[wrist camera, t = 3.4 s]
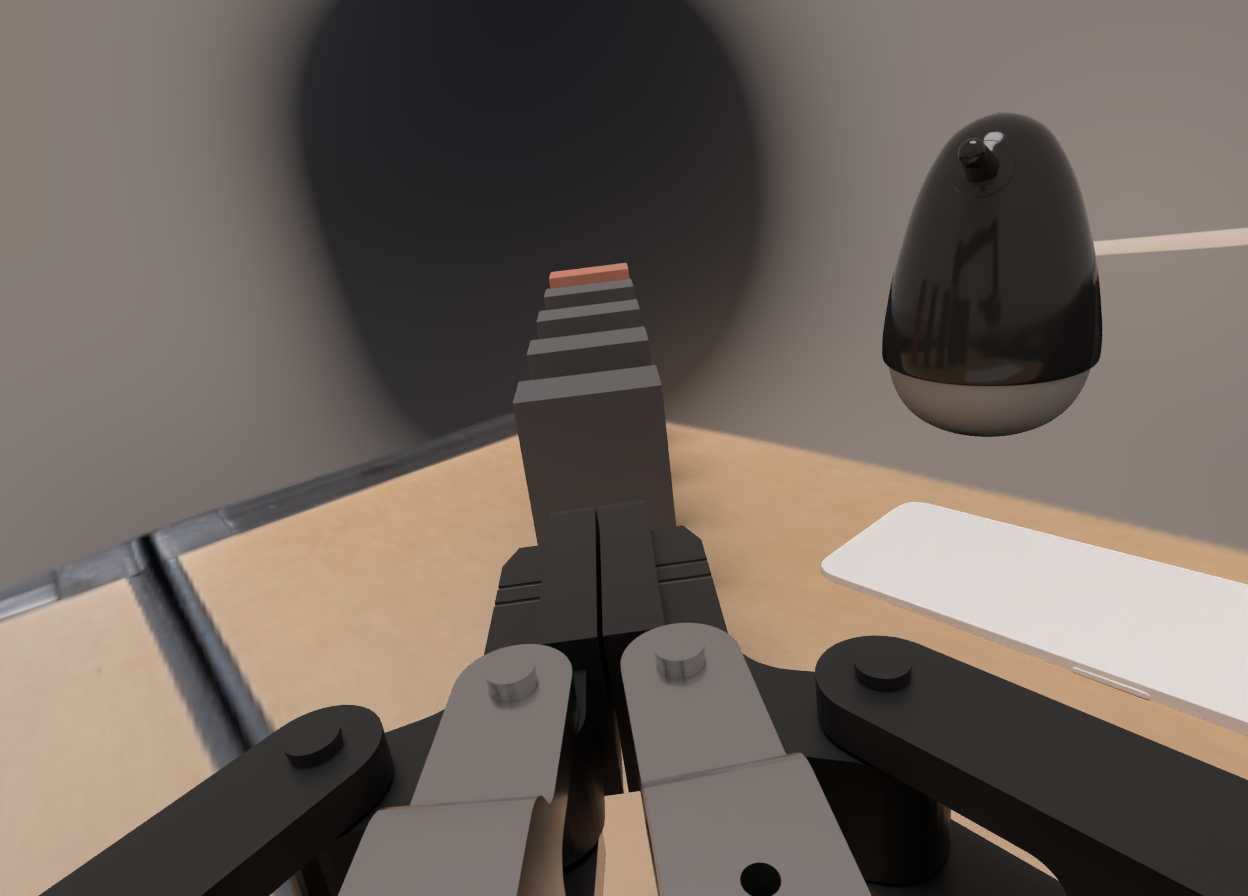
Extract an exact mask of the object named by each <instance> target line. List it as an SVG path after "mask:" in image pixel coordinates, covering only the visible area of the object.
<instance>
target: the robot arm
mask: <svg viewBox="0 0 1248 896" xmlns="http://www.w3.org/2000/svg"><path fill="white" fill-rule="evenodd" d="M498 587H499V590H498V591H497V596H496V600H495V607H494V610H493V615H492V619H491V624H490V629H489V634H488V639H487V643H486V648H485V653H484V656H482V657H481V658H479V659H477V660H475V661H474V662H473V663H471V664H470V665H469V666H468V667H467V668H466V669H465V670H464V671H463V672H462V673H461V674H460V675H459V677H458V678H457V680H456V682H455V684H454V686H453V689H452V691H451V694H450V697H449V700H448V702H447V705H446V708H445V709H444V710H442V711H440V712H438V713H436V714H434V715H432V716H430V717H427V718H425V719H422V720H420V721H417V722H414V723H411V724H409V725H406V726H403V727H400V728H397V729H395V730H392V731H389V732H386V733H384V730H383V726H382V723H381V721H380V718H379V717H378V716H377V715H376V714H375V713H374V712H373V711H371V710H370V709H367V708H364V707H361V706H355V705H339V706H331V707H327V708H322V709H319V710H316V711H313V712H310V713H308V714H305V715H303V716H300V717H298V718H297V719H295V720H293V721H291V722H289V723H287V724H286V725H284V726H283V727H281V728H280V729H278V730H277V731H275V732H274V733H272V734H271V735H270V736H268V737H267V738H265V739H264V740H262V741H261V742H259V743H258V744H257V745H255V746H254V747H252V748H251V749H249V750H248V751H246V752H245V753H244V754H242V755H241V756H239V757H238V758H236V759H235V760H233V761H232V762H231V763H229V764H228V765H226V766H225V767H223V768H222V769H221V770H219V771H218V772H216V773H215V774H213V775H212V776H210V777H209V778H208V779H206V780H205V781H203V782H202V783H200V784H199V785H197V786H196V787H195V788H193V789H192V790H190V791H189V792H187V793H186V794H185V795H183V796H182V797H180V798H179V799H177V800H176V801H174V802H173V803H172V804H170V805H169V806H167V807H166V808H164V809H163V810H161V811H160V812H159V813H157V814H156V815H154V816H153V817H151V818H150V819H148V820H147V821H146V822H144V823H143V824H141V825H140V826H138V827H137V828H136V829H134V830H133V831H131V832H130V833H128V834H127V835H125V836H124V837H123V838H121V839H120V840H118V841H117V842H115V843H114V844H112V845H111V846H110V847H108V848H107V849H105V850H104V851H102V852H101V853H100V854H98V855H97V856H95V857H94V858H92V859H91V860H89V861H88V862H87V863H85V864H84V865H82V866H81V867H79V868H78V869H76V870H75V871H74V872H72V873H71V874H69V875H68V876H66V877H65V878H63V879H62V880H61V881H59V882H58V883H56V884H55V885H53V886H52V887H51V888H49V889H48V890H46V891H45V892H43V893H42V894H40V895H39V896H269V895H271V894H272V893H273V892H274V891H275V890H276V889H278V888H279V887H280V886H281V885H282V884H283V883H285V882H286V881H287V880H288V881H289V884H290V886H291V889H292V892H293V894H294V896H603V887H604V872H605V857H606V851H605V842H604V837H603V832H602V830H603V827H604V820H605V803H604V796H608V795H615V794H623V793H624V792H623V772H622V754H623V760H624V766H625V772H626V778H627V784H628V790H629V792H636V791H641V798H642V804H643V810H644V816H645V823H646V830H647V836H648V842H649V848H650V854H651V860H652V865H653V871H654V877H655V882H656V888H657V894H658V896H1248V780H1246V779H1244V778H1241V777H1239V776H1236V775H1234V774H1232V773H1229V772H1227V771H1224V770H1222V769H1220V768H1217V767H1215V766H1212V765H1210V764H1207V763H1205V762H1203V761H1200V760H1198V759H1195V758H1193V757H1191V756H1188V755H1186V754H1183V753H1181V752H1178V751H1176V750H1174V749H1171V748H1169V747H1166V746H1164V745H1162V744H1159V743H1157V742H1154V741H1152V740H1149V739H1147V738H1145V737H1142V736H1140V735H1137V734H1135V733H1132V732H1130V731H1128V730H1125V729H1123V728H1120V727H1118V726H1116V725H1113V724H1111V723H1108V722H1106V721H1103V720H1101V719H1099V718H1096V717H1094V716H1091V715H1089V714H1087V713H1084V712H1082V711H1079V710H1077V709H1074V708H1072V707H1070V706H1067V705H1065V704H1062V703H1060V702H1058V701H1055V700H1053V699H1050V698H1048V697H1045V696H1043V695H1041V694H1038V693H1036V692H1033V691H1031V690H1029V689H1026V688H1024V687H1021V686H1019V685H1016V684H1014V683H1012V682H1009V681H1007V680H1004V679H1002V678H1000V677H997V676H995V675H992V674H990V673H987V672H985V671H983V670H980V669H978V668H975V667H973V666H971V665H968V664H966V663H963V662H961V661H958V660H956V659H954V658H951V657H949V656H946V655H944V654H942V653H939V652H937V651H934V650H932V649H929V648H927V647H925V646H922V645H920V644H917V643H914V642H911V641H909V640H905V639H901V638H896V637H889V636H862V637H856V638H852V639H848V640H845V641H842V642H840V643H838V644H835V645H834V646H832V647H831V648H829V649H828V650H826V651H825V652H824V653H823V654H822V655H821V657H820V658H819V660H818V662H817V665H816V667H815V672H810V671H798V670H788V669H780V668H775V667H771V666H767V665H764V664H761V663H759V662H756V661H754V660H752V659H750V658H748V657H747V656H745V655H744V654H742V652H741V649H740V647H739V645H738V644H737V642H736V641H735V640H734V639H733V638H732V637H731V636H730V635H729V634H728V632H727V628H726V625H725V621H724V618H723V614H722V611H721V607H720V604H719V600H718V597H717V593H716V590H715V586H714V583H713V579H712V577H711V572H710V569H709V565H708V562H707V558H706V555H705V551H704V548H703V544H702V541H701V539H700V538H698V537H697V536H696V535H695V534H693V533H692V532H691V531H689V530H688V529H687V528H686V527H684V526H677V527H670V528H663V529H655V530H650V527H649V521H648V515H647V508H646V502H645V500H641V501H633V502H626V503H619V504H611V505H604V506H600V524H599V518H598V513H597V509H596V507H590V508H583V509H576V510H568V511H561V512H554V513H550V514H549V522H548V531H547V540H546V545H539V546H532V547H524V548H519V549H518V550H517V552H516V553H515V554H514V555H513V556H512V557H511V558H510V559H509V560H508V561H507V563H506V564H505V565H504V566H503V567H502V572H501V577H500V581H499V586H498ZM621 748H622V753H621ZM951 809H952V810H953V811H955V812H957V813H959V814H961V815H962V816H964V817H966V818H968V819H969V820H971V821H973V822H975V823H976V824H978V825H980V826H982V827H984V828H985V829H987V830H989V831H991V832H992V833H994V834H996V835H998V836H1000V837H1001V838H1003V839H1005V840H1007V841H1008V842H1010V843H1012V844H1014V845H1015V846H1017V847H1019V848H1021V849H1023V850H1024V851H1026V852H1028V853H1029V854H1031V855H1033V856H1034V857H1035V858H1037V859H1038V860H1039V861H1041V862H1042V863H1043V864H1044V865H1045V866H1046V867H1047V868H1048V869H1049V870H1050V871H1051V872H1052V873H1053V874H1054V875H1055V876H1056V878H1057V879H1058V880H1059V881H1058V880H1056V879H1054V878H1053V877H1051V876H1049V875H1047V874H1046V873H1044V872H1042V871H1040V870H1039V869H1037V868H1035V867H1033V866H1032V865H1030V864H1028V863H1026V862H1025V861H1023V860H1021V859H1020V858H1018V857H1016V856H1014V855H1013V854H1011V853H1009V852H1007V851H1006V850H1004V849H1002V848H1000V847H999V846H997V845H995V844H993V843H992V842H990V841H988V840H986V839H985V838H983V837H981V836H979V835H978V834H976V833H974V832H972V831H971V830H969V829H967V828H966V827H964V826H962V825H960V824H959V823H957V822H955V821H953V820H952V819H950V818H951Z"/></svg>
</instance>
